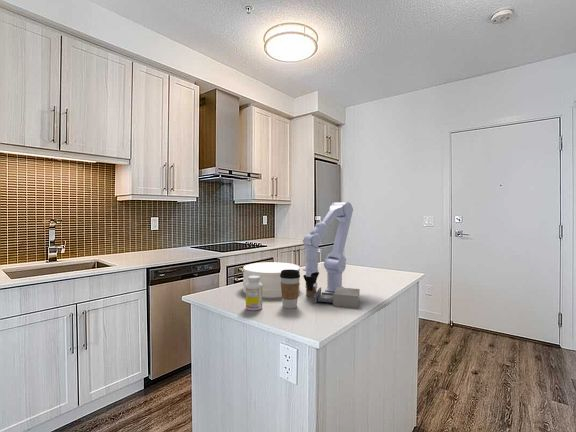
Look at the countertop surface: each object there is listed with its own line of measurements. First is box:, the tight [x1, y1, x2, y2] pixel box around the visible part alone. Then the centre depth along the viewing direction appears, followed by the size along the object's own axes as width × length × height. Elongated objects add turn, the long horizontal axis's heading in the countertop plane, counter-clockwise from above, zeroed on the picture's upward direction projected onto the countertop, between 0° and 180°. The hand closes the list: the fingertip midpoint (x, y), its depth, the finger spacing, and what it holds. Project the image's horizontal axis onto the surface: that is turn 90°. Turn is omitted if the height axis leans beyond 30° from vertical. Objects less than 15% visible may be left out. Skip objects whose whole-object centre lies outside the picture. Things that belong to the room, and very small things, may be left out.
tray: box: [313, 287, 334, 304], centre depth 137 cm, size 12×10×4 cm
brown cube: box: [305, 287, 317, 298], centre depth 145 cm, size 4×4×4 cm
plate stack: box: [242, 261, 301, 299], centre depth 155 cm, size 28×28×12 cm
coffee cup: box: [280, 269, 301, 309], centre depth 129 cm, size 8×8×15 cm
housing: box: [332, 287, 361, 309], centre depth 134 cm, size 12×10×5 cm
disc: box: [305, 282, 318, 290], centre depth 145 cm, size 6×6×2 cm
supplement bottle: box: [245, 276, 263, 312], centre depth 126 cm, size 7×7×13 cm
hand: (311, 288), depth 145 cm, fingers closed on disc, 5 cm apart
